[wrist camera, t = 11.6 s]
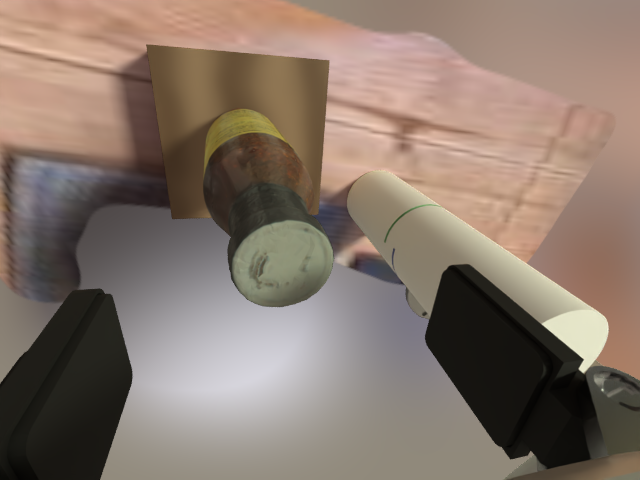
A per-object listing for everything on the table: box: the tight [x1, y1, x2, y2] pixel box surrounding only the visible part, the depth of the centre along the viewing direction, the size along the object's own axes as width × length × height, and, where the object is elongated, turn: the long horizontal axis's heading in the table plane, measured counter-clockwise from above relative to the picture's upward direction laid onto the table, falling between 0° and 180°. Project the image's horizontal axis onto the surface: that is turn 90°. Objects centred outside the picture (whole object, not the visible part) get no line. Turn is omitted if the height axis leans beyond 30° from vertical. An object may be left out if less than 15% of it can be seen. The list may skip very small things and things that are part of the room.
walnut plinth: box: [146, 45, 329, 219], centre depth 31 cm, size 14×14×4 cm
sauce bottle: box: [203, 108, 334, 307], centre depth 21 cm, size 7×6×20 cm
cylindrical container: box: [347, 170, 609, 373], centre depth 29 cm, size 7×7×25 cm
